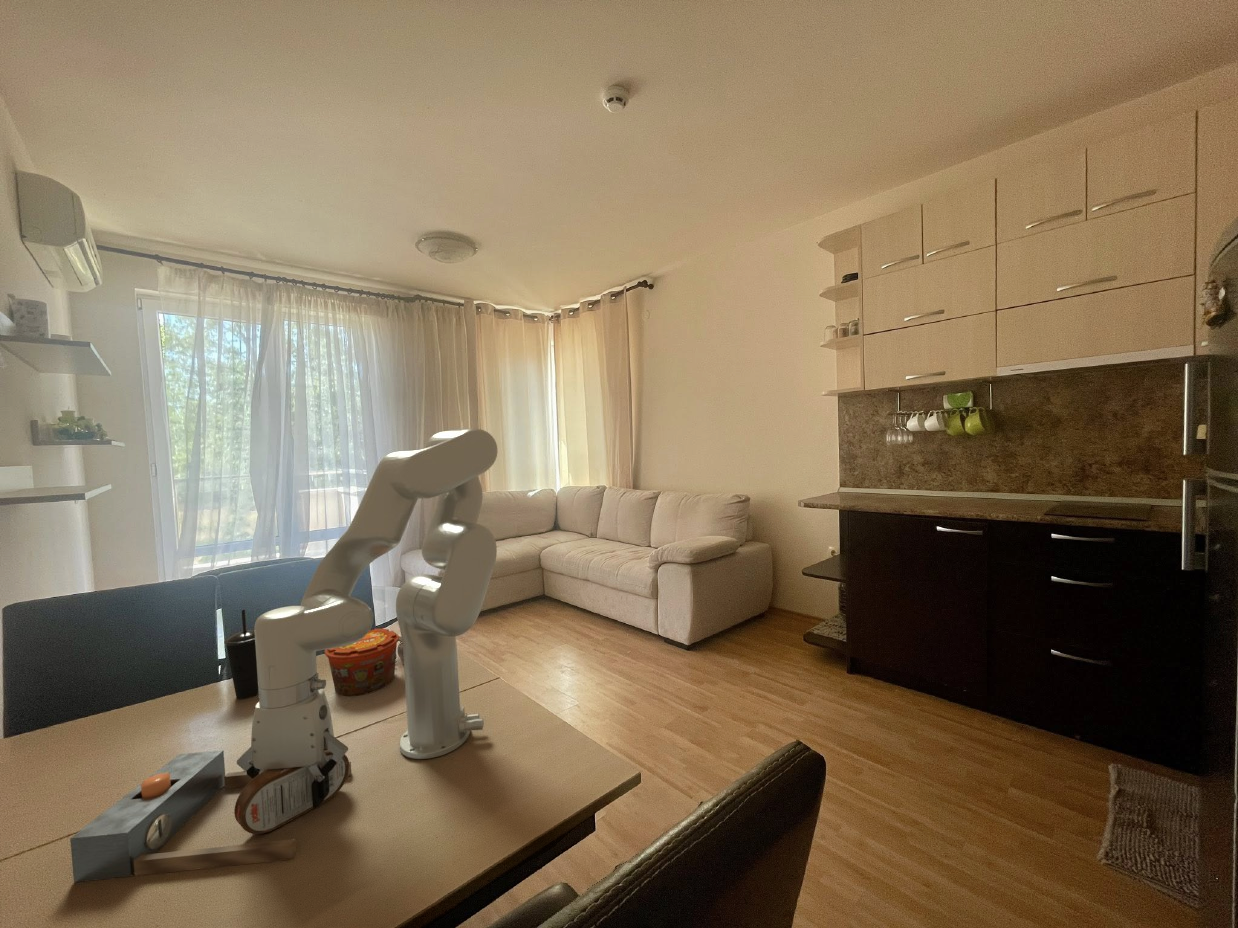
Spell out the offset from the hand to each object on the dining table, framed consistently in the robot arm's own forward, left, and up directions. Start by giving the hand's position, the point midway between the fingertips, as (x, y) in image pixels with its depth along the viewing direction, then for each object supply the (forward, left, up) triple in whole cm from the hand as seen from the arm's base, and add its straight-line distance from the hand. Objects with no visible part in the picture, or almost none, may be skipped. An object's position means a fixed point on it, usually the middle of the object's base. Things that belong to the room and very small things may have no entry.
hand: (296, 802), depth 76 cm
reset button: (+20, 0, +2) cm, 20 cm away
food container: (+8, -44, -2) cm, 45 cm away
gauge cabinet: (+20, 0, -2) cm, 20 cm away
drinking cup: (+34, -43, -2) cm, 55 cm away
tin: (0, 0, -2) cm, 2 cm away
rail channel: (+6, 0, -2) cm, 6 cm away
